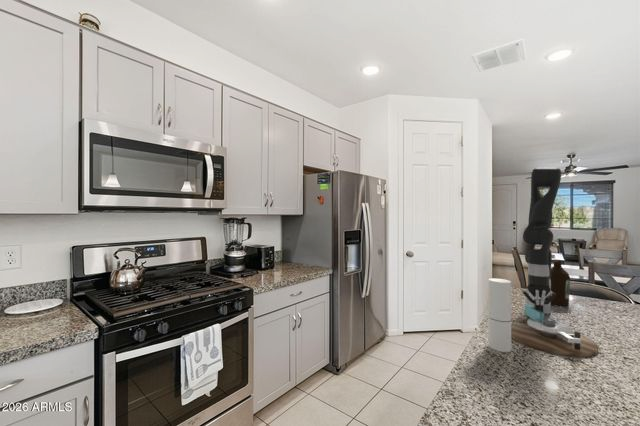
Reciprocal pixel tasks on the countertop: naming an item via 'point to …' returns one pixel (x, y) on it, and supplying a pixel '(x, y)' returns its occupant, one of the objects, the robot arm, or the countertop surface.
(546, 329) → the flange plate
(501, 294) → the cylindrical container
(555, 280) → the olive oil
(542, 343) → the base plate
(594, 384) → the countertop surface
